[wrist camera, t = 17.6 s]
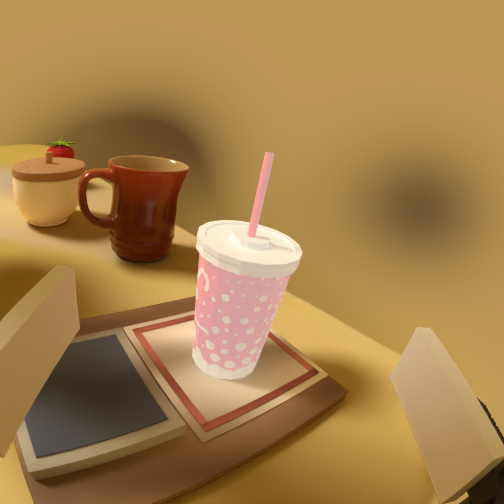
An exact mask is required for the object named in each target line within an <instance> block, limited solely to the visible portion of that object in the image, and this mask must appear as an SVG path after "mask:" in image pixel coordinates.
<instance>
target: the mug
mask: <svg viewBox="0 0 504 504" xmlns="http://www.w3.org/2000/svg"><path fill="white" fill-rule="evenodd" d="M108 164H109V167H108V168H105V169H103V168H102V169H101V168H100V169H99V168H98V169H91V170H88V171H86V172H85V173H84V174H83V175H82V176H81V178H80V179H79V182H78V189H77V196H78V203H79V207H80V210H81V212H82V214H83V215H84V217H85V218H86V219H87V221H89V222H90V223H91V224H93V225H95V226H98V227H100V228H103V229H109V233H110V241H111V246H112V249H113V250H114V252H116V253H117V254H118V255H119V256H120V257H122V258H125V259H127V260H131V261H136V262H150V261H155V260H158V259H160V258H162V257H164V256H166V255H167V254H168V253H169V251H170V248H171V245H172V243H173V238H174V230H175V222H176V211H177V201H178V196H179V192H180V189H181V187H182V184H183V182H184V180H185V178H186V176H187V174H188V172H189V169H190V168H189V166H187V165H186V164H184V163H182V162H179V161H175V160H171V159H166V158H160V157H152V156H136V155H135V156H133V155H132V156H118V157H114V158H111V159H109V161H108ZM93 178H104V179H106V180H108V181H109V182H111V183H112V204H111V211H110V214H109V215H107V216H97V215H95V214H93V213H92V212H91V211H90V210H89V208H88V204H87V197H86V188H87V184H88V182H89V181H90V180H91V179H93Z"/></svg>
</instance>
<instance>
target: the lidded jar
mask: <svg viewBox="0 0 504 504" xmlns="http://www.w3.org/2000/svg"><path fill="white" fill-rule="evenodd" d="M85 168H86V165H85V163H84V162H82V161H79V160H76V159H71V158H61V157H53V152H46V157H45V158H35V159H29V160H25V161H21V162H19V163H17V164H15V165H14V166H13V167H12V176H13V192H14V198H15V202H16V205H17V207H18V209H19V211H20V212H21V214H22V215H23V216H24V217H25V218H26V219H28V222H29V223H30V224H31V225H34V226H38V227H51V226H57V225H60V224H63V223H64V222H66V221H67V220H68V217H69V216H70V215H71V214H72V213H73V212H74V210H75V209H76V207H77V206H78V204H79V203H78V196H77V189H78V182H79V179H80V178H81V176H82V175H83V174H84V173H85Z"/></svg>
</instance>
